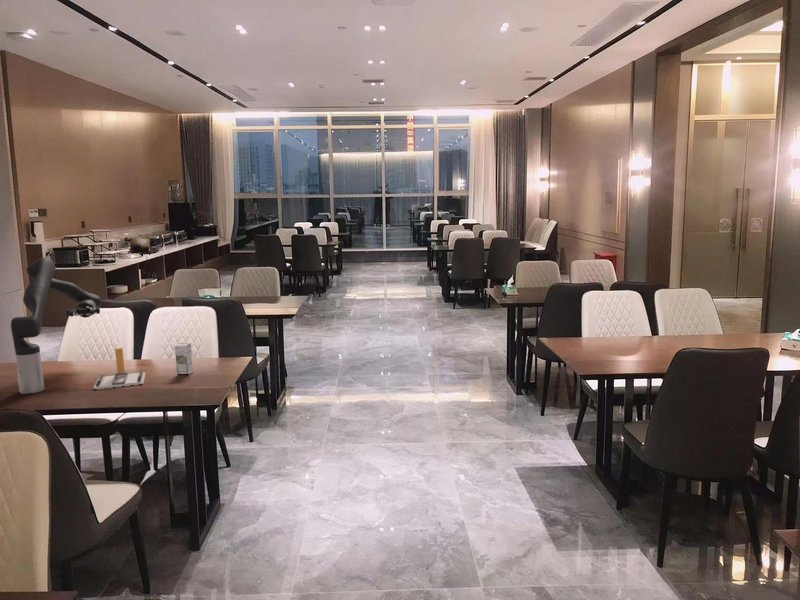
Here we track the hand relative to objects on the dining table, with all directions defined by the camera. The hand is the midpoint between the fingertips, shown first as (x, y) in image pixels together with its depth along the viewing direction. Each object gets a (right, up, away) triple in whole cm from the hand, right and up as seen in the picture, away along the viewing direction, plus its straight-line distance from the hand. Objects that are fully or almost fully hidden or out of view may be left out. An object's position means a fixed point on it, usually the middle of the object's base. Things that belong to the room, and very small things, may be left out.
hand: (81, 313), depth 298 cm
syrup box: (+48, -29, +2) cm, 56 cm away
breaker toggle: (+21, -28, -4) cm, 35 cm away
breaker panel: (+23, -31, -9) cm, 39 cm away
